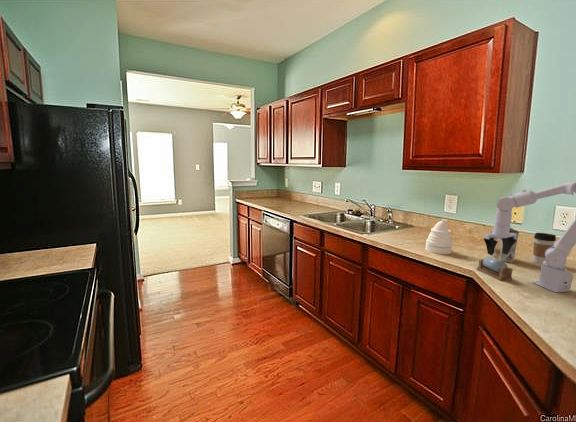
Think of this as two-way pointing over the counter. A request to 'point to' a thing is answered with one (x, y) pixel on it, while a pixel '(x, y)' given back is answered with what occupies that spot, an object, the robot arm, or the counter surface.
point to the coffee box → (511, 253)
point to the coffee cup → (542, 246)
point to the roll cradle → (502, 275)
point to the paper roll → (494, 264)
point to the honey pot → (439, 239)
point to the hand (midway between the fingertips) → (497, 254)
